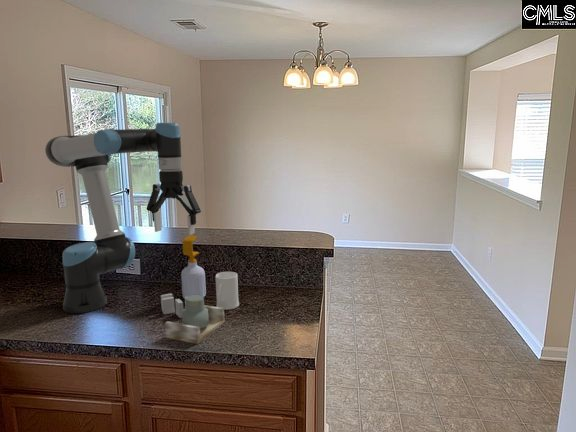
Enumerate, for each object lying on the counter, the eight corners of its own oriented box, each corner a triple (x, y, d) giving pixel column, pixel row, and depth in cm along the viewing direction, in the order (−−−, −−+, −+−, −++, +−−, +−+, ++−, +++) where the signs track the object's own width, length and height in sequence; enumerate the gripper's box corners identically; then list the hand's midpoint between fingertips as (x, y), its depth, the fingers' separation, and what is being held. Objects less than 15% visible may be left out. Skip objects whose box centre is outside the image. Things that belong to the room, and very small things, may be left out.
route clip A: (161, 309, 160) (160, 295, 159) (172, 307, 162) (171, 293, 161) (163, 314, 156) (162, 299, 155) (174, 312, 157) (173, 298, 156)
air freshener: (183, 320, 148) (181, 293, 146) (208, 318, 150) (206, 290, 148) (183, 335, 138) (181, 305, 136) (209, 332, 140) (208, 303, 138)
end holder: (165, 337, 139) (164, 323, 138) (195, 316, 154) (194, 303, 153) (197, 344, 134) (196, 329, 133) (225, 321, 150) (224, 307, 149)
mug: (228, 314, 155) (226, 282, 153) (207, 311, 158) (205, 280, 156) (243, 302, 166) (242, 272, 163) (223, 299, 169) (222, 270, 166)
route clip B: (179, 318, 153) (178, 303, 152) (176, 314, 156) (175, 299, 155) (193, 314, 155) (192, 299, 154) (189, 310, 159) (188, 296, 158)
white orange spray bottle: (210, 293, 175) (207, 234, 170) (198, 301, 167) (194, 240, 162) (190, 290, 178) (187, 232, 173) (178, 299, 170) (174, 238, 165)
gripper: (132, 170, 145) (137, 232, 149) (196, 172, 136) (200, 238, 140) (147, 168, 151) (152, 227, 156) (209, 170, 142) (212, 232, 147)
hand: (174, 232), depth 148 cm, fingers open, 13 cm apart
